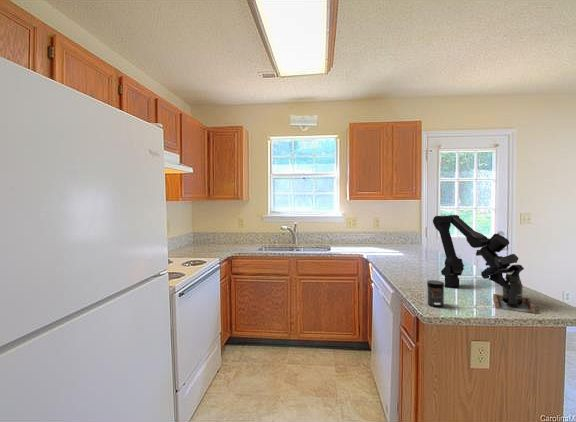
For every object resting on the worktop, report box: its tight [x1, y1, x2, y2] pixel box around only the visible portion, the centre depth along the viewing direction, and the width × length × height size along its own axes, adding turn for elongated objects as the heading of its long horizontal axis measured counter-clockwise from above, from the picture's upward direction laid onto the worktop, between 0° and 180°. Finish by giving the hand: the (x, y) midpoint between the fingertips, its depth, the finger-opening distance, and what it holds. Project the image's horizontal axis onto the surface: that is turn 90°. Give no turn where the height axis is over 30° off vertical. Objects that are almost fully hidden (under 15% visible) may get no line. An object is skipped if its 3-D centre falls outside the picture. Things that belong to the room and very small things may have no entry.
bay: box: [492, 293, 536, 315], centre depth 127 cm, size 13×12×3 cm
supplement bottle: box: [502, 274, 524, 305], centre depth 127 cm, size 7×7×12 cm
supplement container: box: [426, 279, 445, 308], centre depth 131 cm, size 7×7×10 cm
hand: (515, 288), depth 126 cm, fingers closed on supplement bottle, 7 cm apart
